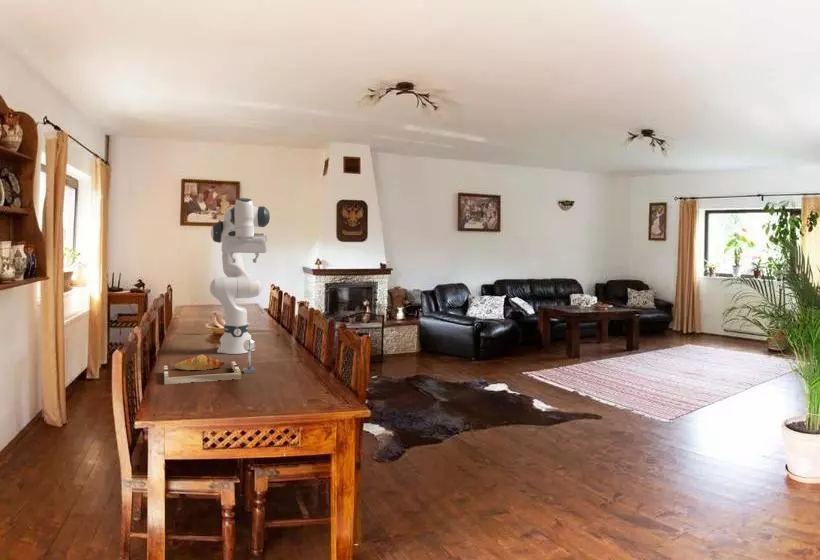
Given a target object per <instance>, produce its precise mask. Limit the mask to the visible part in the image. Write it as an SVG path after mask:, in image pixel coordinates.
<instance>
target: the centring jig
mask: <svg viewBox="0 0 820 560" xmlns="http://www.w3.org/2000/svg"><path fill="white" fill-rule="evenodd" d="M168 367H169V366H168V365H164V366H163V379H164V380H163V381H164V382H163V383H164V384H163V385H176V384H177V385H178V384H179V383H180V384H192V383H191V382H194V383H204V382H206V381H207V382H218V380H221V381H233V380H232V379H234V380H242V372H241V369H240V368H239V365H238V364H237V363H236V361H231V369H233V370H232V371H234V372H229V373H227V372H226V373H214V374H213V373H212V374H201V375H200V374H198V375H185V376H171V377H170V376H169V368H168Z"/></svg>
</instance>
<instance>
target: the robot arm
mask: <svg viewBox="0 0 820 560" xmlns="http://www.w3.org/2000/svg"><path fill="white" fill-rule="evenodd" d="M270 219H271V215H270V211H269V209H268V208H267V207H266V206H264V205H263V206H254V202H253V200H252V199H251V198H246V197H240V198H237V199H235V204H234V206H231V207H229V208H227V209H226V210H225V212H224V214H223V220H221V219H219V220H218V221H217V222H215V223H214V224H213V225H212V227H211V229H210V236H211V239H212V241H213V242H214V243H219V244H220V243H221V252H222V253H221V254H222V255H221V256H222V257H221V259H222V270H223V274H224V275H225V276H222V277H217V278H214V279H212V281H211V282H210V284H209V285H210V286H209V291H210V293H211V296H212V297H214V298H215V299H217V300H218V301H219V303H220V304H221V306H222V308H223V311H224V312H223V313H224V325H223V332H224V333H223V335H221V336H220V338H219V347H218V348H217V350H216V352H217V353H220V354H227V355H228V354H229V355H232V354H233V355H234V354H235V355H238V354H240V355H241V354H248V351H247V350H245V349H244V346H243V345H244V342H245V341H246V340H252V335H251V334H250V333H249V324H248V311H247V308H246V307H245V306H243V305H240V303H239V304H238V303H236V301H235V300H237V299H251V298H252V299H253V298H255V297H258V296H259V295H261V292H262V291H263V290H262V287H263V285H262V283H261V281H260V279H258V278H257V277H254V276H253V275H252V274H250V273H249V272H248V271H247V269H246V266H245V259H244V254H254V255H255V257H254V258H252V263H254V264H257V259H258V258H259V256H260V254H265V253H267V251H268V250H267V243H268V236H267V235H266V234H264V233H256V232H255V227H256V228H257V227H259V228H265V227H266V226H267V225H268V224H269V223H270ZM253 351H255V348H254V349H253V350H252V351H251V352H253Z"/></svg>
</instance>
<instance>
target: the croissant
mask: <svg viewBox="0 0 820 560" xmlns="http://www.w3.org/2000/svg"><path fill="white" fill-rule="evenodd" d="M223 365H225V361H224V360H219V359H217V358H216V359H214V358H213V357H210V356H207V354H200V355H197V356H196V357H189V358H188V359H185V360H180V361H179V362H178V363H175V364H174V367H175V369H177V370H182V371H190V370H202V371H207V369H208V370H213V369H214V368H215V369H217V368H219V369H220V368H221V367H222V366H223Z"/></svg>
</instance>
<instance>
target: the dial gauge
mask: <svg viewBox="0 0 820 560" xmlns="http://www.w3.org/2000/svg"><path fill="white" fill-rule="evenodd" d="M243 346H244V349H245V350H247V351H248V352H247V367H242V373H243V374H244V373H245V374H256V373H257V368H255V367H254V366H251V365H252V364H251V362H252V360H251V359H252V358H251V357H252V356H251V355H252V352H253V351H252V350H253V349H255V348H256V342H255V341H254V340H253V339H251V340H246V341H245V342H244V345H243Z"/></svg>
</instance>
